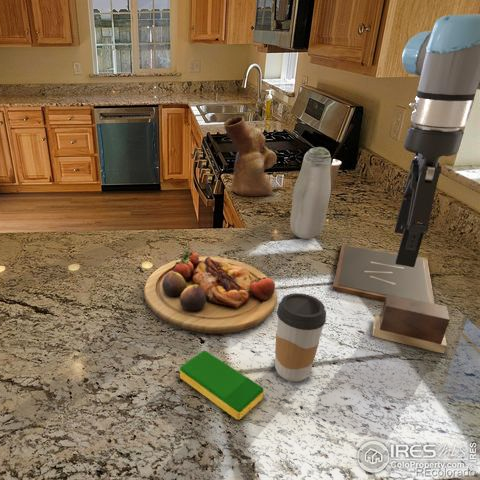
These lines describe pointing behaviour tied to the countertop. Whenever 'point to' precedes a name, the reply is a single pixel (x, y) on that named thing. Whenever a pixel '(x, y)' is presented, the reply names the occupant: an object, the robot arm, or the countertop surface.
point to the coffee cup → (298, 335)
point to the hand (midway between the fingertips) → (403, 248)
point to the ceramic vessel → (249, 159)
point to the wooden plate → (210, 294)
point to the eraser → (412, 323)
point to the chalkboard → (381, 275)
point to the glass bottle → (311, 194)
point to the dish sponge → (221, 384)
